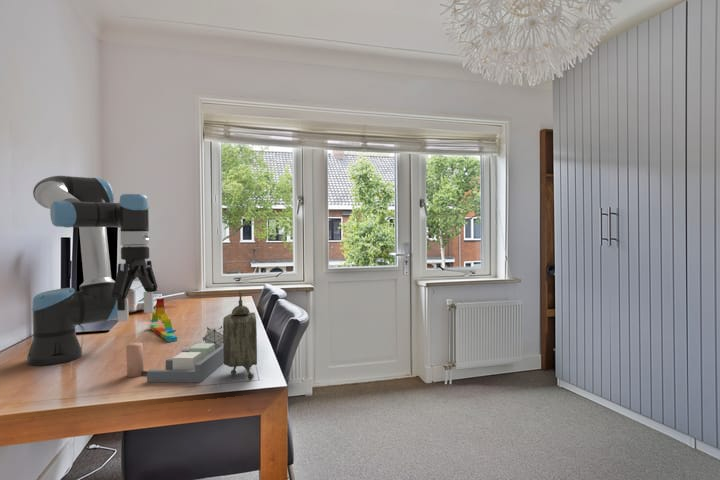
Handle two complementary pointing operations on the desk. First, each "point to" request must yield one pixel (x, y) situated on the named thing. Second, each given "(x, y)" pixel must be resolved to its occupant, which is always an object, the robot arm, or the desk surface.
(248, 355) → the tabletop clock
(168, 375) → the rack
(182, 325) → the desk surface
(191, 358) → the corded block
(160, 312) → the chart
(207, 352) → the sage block
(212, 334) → the grey spiky lattice polyhedron
